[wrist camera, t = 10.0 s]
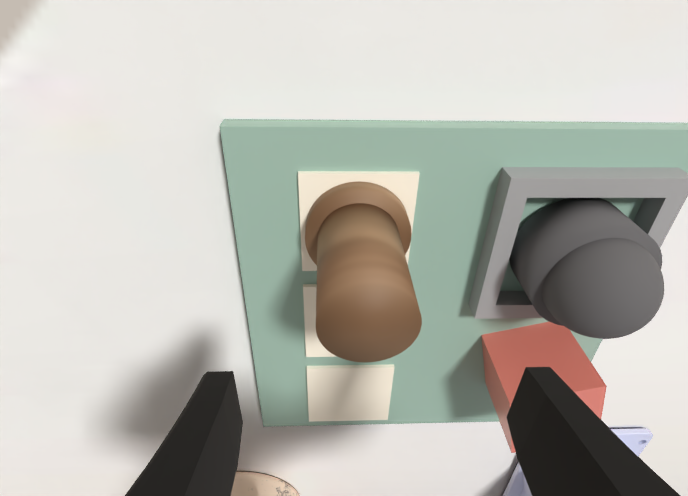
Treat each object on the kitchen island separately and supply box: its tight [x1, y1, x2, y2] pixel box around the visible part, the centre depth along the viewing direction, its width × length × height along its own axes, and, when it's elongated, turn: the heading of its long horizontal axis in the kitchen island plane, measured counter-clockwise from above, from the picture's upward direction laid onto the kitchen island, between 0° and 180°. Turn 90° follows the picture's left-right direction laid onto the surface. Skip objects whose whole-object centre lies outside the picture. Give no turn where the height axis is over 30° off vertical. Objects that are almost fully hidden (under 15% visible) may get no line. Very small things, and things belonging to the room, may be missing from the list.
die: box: [481, 322, 606, 453], centre depth 21 cm, size 4×4×4 cm
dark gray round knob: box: [509, 198, 664, 339], centre depth 16 cm, size 5×5×5 cm
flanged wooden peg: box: [305, 181, 422, 362], centre depth 15 cm, size 4×4×6 cm
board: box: [220, 119, 688, 427], centre depth 20 cm, size 18×18×2 cm
